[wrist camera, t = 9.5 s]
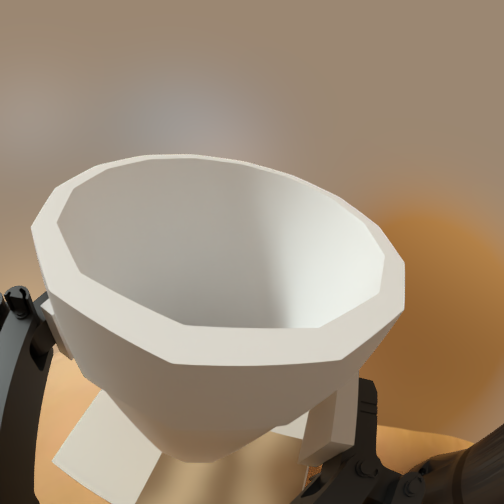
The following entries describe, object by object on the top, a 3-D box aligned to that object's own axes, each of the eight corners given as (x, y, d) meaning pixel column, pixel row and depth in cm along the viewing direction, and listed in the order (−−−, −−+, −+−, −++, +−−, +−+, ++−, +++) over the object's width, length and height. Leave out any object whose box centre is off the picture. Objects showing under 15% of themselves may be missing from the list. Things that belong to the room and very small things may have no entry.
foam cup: (297, 461, 12) (464, 301, 5) (136, 499, 8) (-27, 396, 1) (239, 344, 19) (291, 164, 12) (110, 359, 15) (80, 153, 8)
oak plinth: (293, 454, 23) (312, 441, 20) (266, 548, 12) (283, 553, 10) (186, 420, 24) (187, 402, 21) (141, 510, 14) (132, 508, 11)
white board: (314, 413, 29) (319, 408, 28) (279, 557, 12) (283, 558, 11) (138, 347, 32) (137, 341, 31) (56, 464, 15) (51, 461, 14)
